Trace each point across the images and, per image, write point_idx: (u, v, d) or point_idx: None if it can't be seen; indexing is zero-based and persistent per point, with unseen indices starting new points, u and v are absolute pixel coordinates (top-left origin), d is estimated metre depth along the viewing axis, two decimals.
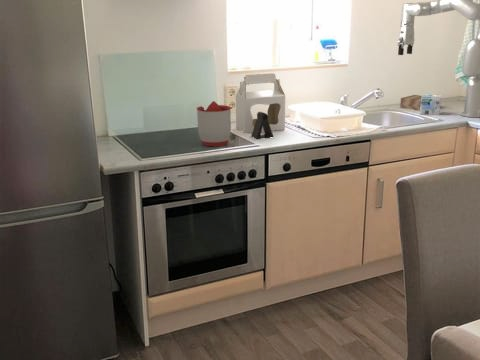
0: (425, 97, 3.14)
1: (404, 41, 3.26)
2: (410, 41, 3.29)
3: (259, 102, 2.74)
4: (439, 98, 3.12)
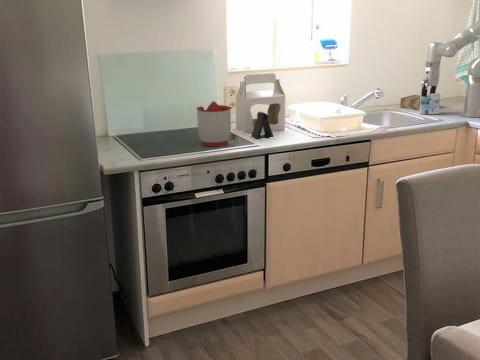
0: (424, 97, 3.14)
1: (428, 82, 3.09)
2: (435, 82, 3.12)
3: (259, 102, 2.74)
4: (438, 97, 3.11)
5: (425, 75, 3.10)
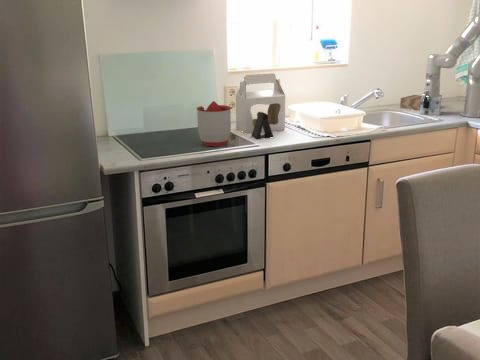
0: None
1: (430, 94, 3.10)
2: (436, 94, 3.13)
3: (259, 102, 2.74)
4: (439, 98, 3.11)
5: (426, 87, 3.11)
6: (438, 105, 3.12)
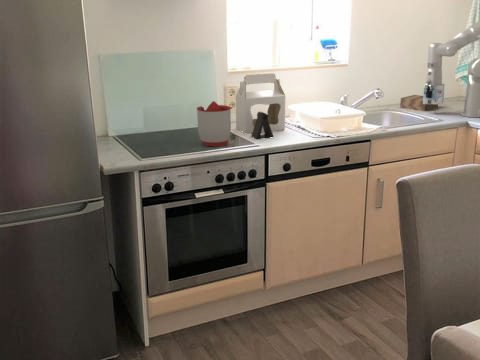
0: None
1: (432, 83, 3.08)
2: (438, 83, 3.11)
3: (259, 102, 2.74)
4: (441, 87, 3.09)
5: (428, 76, 3.09)
6: (441, 94, 3.10)
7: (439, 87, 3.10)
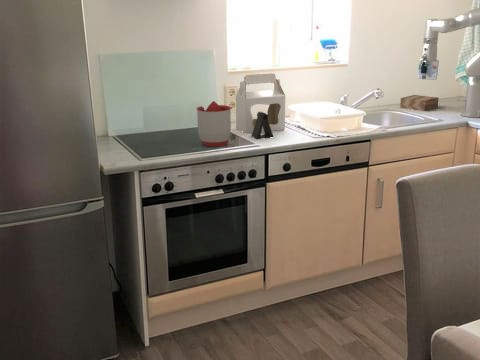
0: None
1: (427, 58, 3.13)
2: (433, 58, 3.16)
3: (259, 102, 2.74)
4: (436, 63, 3.14)
5: (423, 52, 3.14)
6: (435, 70, 3.15)
7: (434, 63, 3.15)
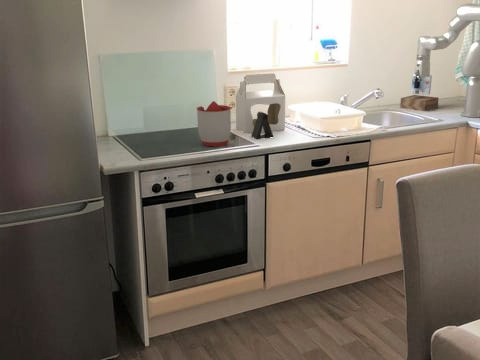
0: None
1: (420, 74, 3.26)
2: (426, 74, 3.29)
3: (259, 102, 2.74)
4: (429, 78, 3.27)
5: (416, 68, 3.27)
6: (428, 85, 3.28)
7: (426, 78, 3.27)
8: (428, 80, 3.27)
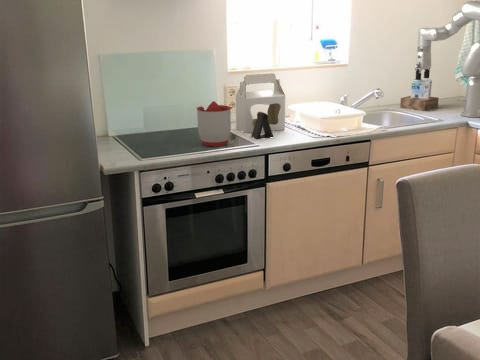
0: (415, 81, 3.31)
1: (421, 66, 3.24)
2: (427, 66, 3.27)
3: (259, 102, 2.74)
4: (428, 83, 3.27)
5: (417, 59, 3.25)
6: (427, 89, 3.29)
7: (426, 82, 3.28)
8: (427, 84, 3.28)
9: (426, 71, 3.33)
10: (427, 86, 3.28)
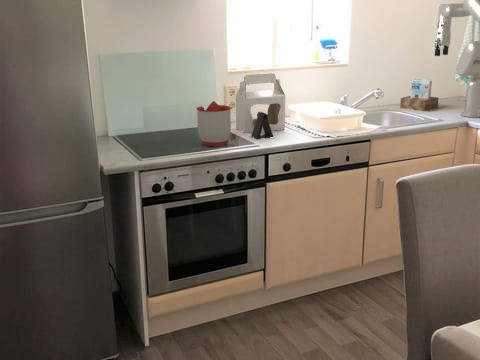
0: (415, 81, 3.31)
1: (441, 42, 3.27)
2: (447, 42, 3.30)
3: (259, 102, 2.74)
4: (428, 82, 3.27)
5: (437, 36, 3.28)
6: (427, 89, 3.29)
7: (426, 82, 3.28)
8: (427, 84, 3.28)
9: (445, 48, 3.36)
10: (427, 86, 3.28)
